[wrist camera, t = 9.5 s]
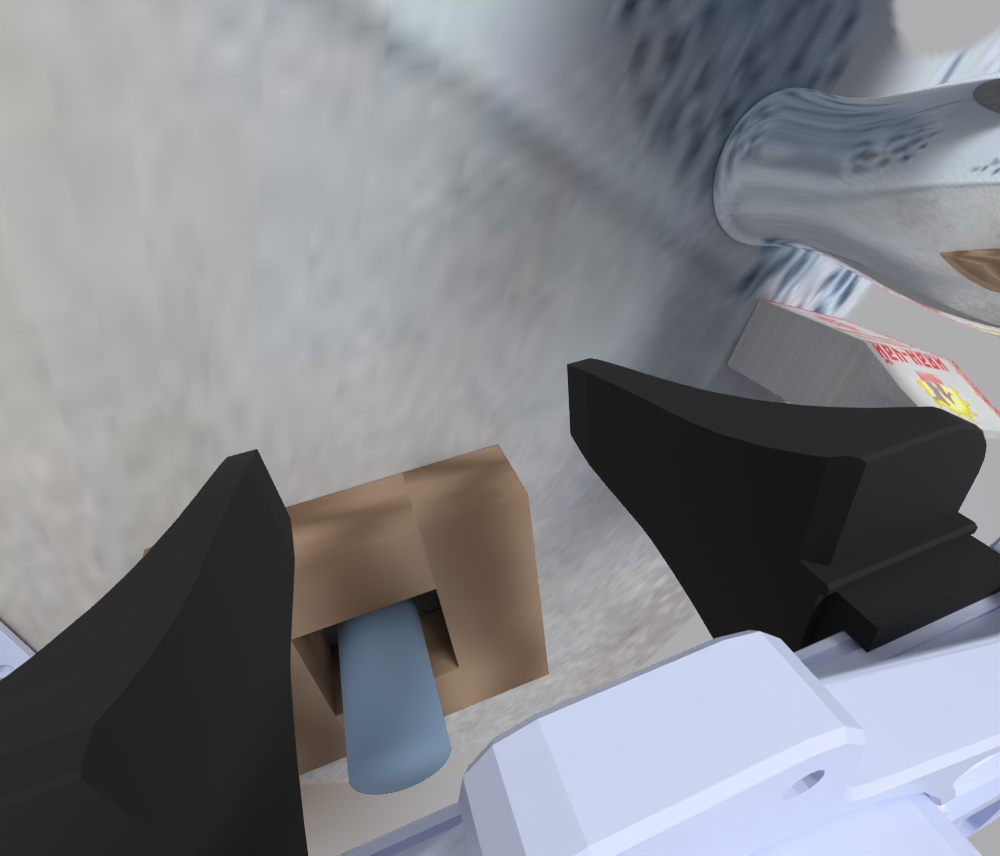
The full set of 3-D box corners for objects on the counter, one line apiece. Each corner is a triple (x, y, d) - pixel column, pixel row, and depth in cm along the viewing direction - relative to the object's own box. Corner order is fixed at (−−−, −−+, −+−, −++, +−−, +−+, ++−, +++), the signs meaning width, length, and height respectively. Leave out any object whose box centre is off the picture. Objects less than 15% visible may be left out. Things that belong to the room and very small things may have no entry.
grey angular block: (809, 378, 30) (995, 476, 22) (726, 365, 27) (904, 471, 19) (843, 319, 29) (1057, 401, 21) (759, 298, 26) (968, 383, 18)
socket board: (267, 716, 30) (263, 789, 26) (145, 549, 22) (119, 626, 19) (523, 618, 33) (548, 674, 30) (497, 444, 25) (527, 493, 22)
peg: (346, 625, 28) (364, 806, 21) (324, 578, 26) (335, 763, 19) (417, 600, 29) (458, 766, 22) (401, 553, 27) (441, 720, 19)
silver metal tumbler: (712, 279, 24) (1124, 445, 12) (691, 122, 20) (1280, 142, 8) (835, 210, 25) (1355, 307, 13) (839, 42, 20) (1620, -55, 8)
